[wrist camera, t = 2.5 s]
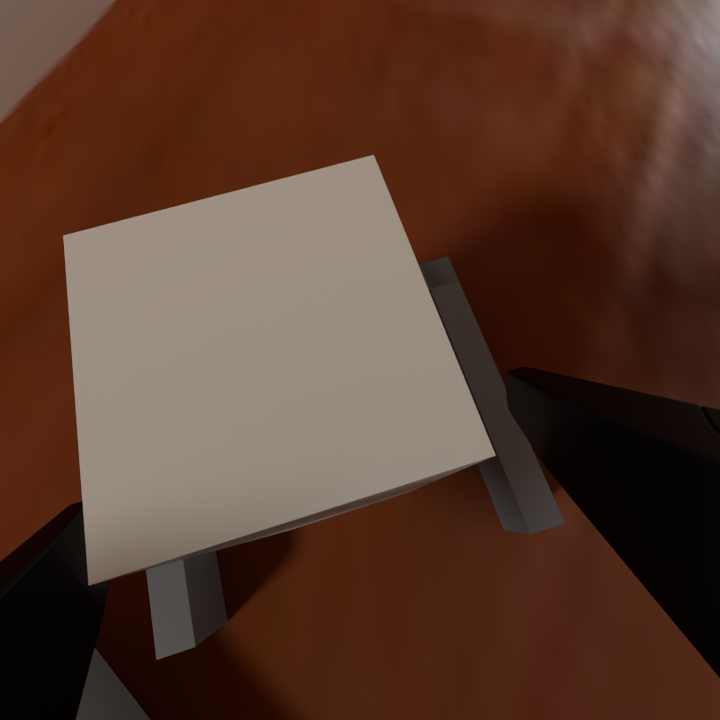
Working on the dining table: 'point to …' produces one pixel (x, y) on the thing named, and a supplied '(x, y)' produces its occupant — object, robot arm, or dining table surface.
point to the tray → (107, 695)
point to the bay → (501, 472)
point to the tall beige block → (256, 368)
